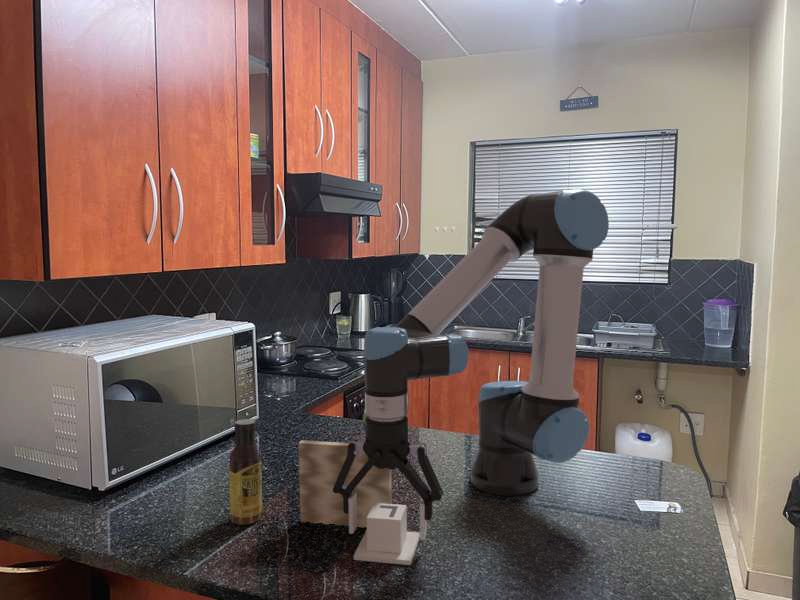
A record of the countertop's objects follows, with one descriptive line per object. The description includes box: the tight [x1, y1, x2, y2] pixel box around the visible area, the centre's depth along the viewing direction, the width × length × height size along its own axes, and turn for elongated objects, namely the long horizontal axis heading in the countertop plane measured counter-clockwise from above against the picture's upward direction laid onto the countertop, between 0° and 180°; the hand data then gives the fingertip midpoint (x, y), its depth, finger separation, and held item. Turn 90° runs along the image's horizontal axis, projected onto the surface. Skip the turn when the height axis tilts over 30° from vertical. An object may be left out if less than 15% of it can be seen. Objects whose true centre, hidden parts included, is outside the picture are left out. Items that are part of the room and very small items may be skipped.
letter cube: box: [366, 503, 408, 553], centre depth 107 cm, size 6×6×6 cm
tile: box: [353, 529, 420, 566], centre depth 107 cm, size 10×10×1 cm
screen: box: [298, 439, 393, 529], centre depth 118 cm, size 18×6×16 cm, turn 79°
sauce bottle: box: [228, 418, 263, 526], centre depth 118 cm, size 7×6×20 cm
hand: (387, 533), depth 107 cm, fingers open, 12 cm apart
